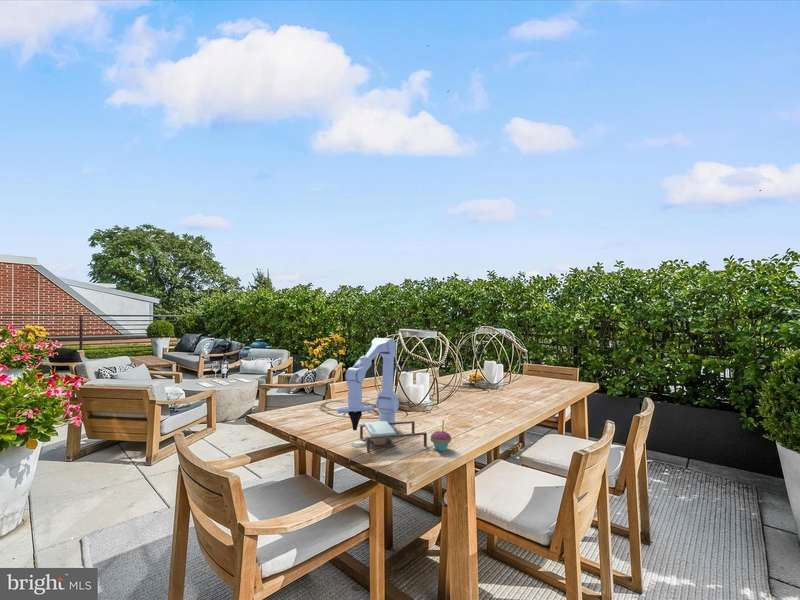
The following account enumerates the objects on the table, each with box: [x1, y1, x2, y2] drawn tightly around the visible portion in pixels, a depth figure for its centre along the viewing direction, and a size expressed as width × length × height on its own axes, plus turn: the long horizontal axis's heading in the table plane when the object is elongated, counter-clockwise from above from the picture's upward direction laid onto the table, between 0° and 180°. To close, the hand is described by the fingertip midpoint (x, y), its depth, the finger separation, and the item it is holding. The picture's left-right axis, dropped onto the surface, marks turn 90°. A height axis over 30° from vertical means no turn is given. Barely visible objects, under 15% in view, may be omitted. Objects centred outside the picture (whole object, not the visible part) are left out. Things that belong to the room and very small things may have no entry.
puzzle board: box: [350, 420, 428, 452], centre depth 165 cm, size 18×30×6 cm, turn 105°
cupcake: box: [430, 418, 452, 452], centre depth 159 cm, size 9×8×12 cm
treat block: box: [373, 438, 386, 445], centre depth 164 cm, size 4×4×5 cm
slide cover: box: [363, 420, 397, 437], centre depth 164 cm, size 17×10×1 cm, turn 15°
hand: (354, 429), depth 161 cm, fingers closed
